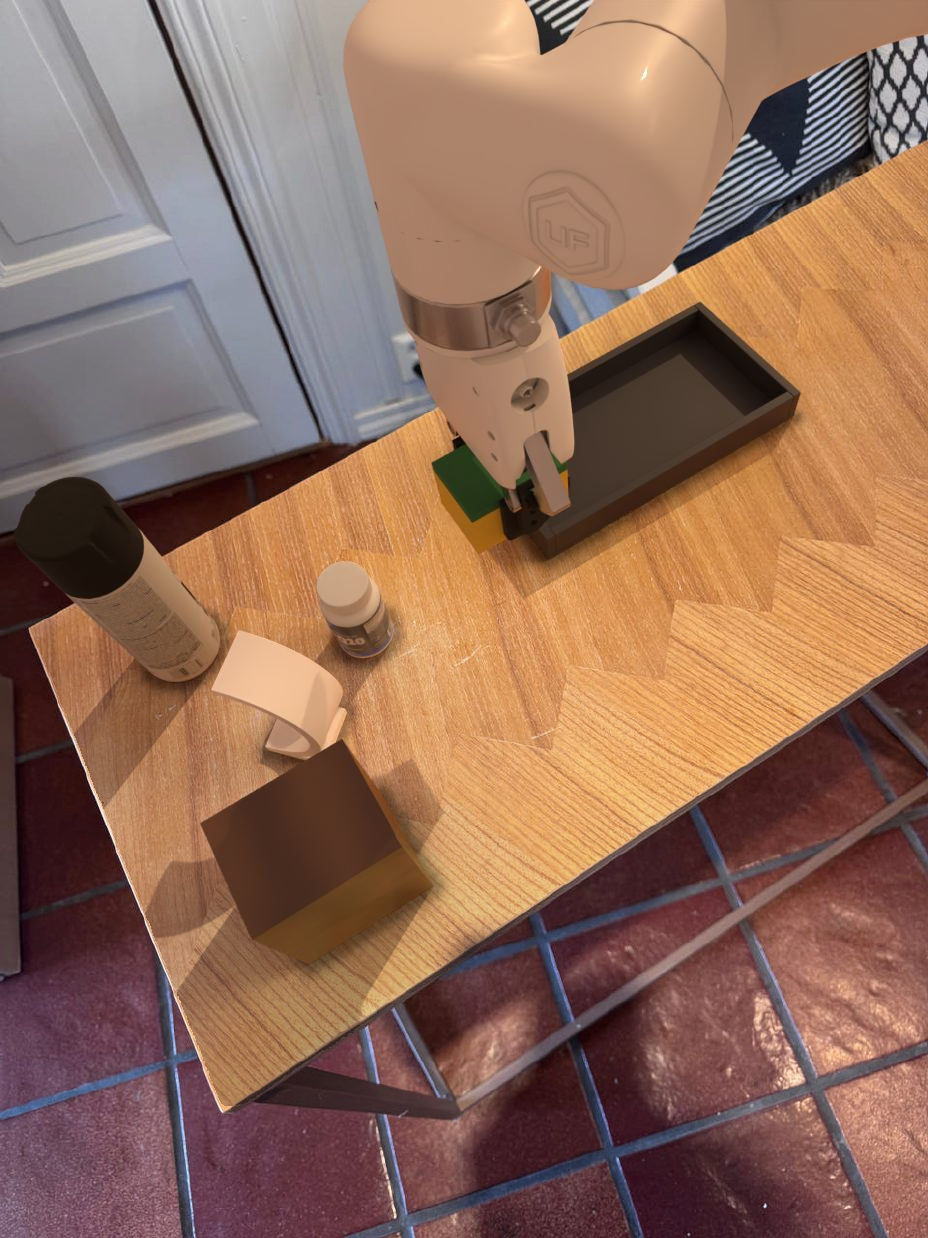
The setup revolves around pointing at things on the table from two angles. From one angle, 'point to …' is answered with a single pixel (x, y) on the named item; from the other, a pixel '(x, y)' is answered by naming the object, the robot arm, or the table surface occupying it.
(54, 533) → the spray can
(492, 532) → the sponge
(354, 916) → the brown wooden cube
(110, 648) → the table surface
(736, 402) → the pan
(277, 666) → the cream curved piece
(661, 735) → the table surface
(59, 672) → the table surface
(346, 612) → the pill bottle
